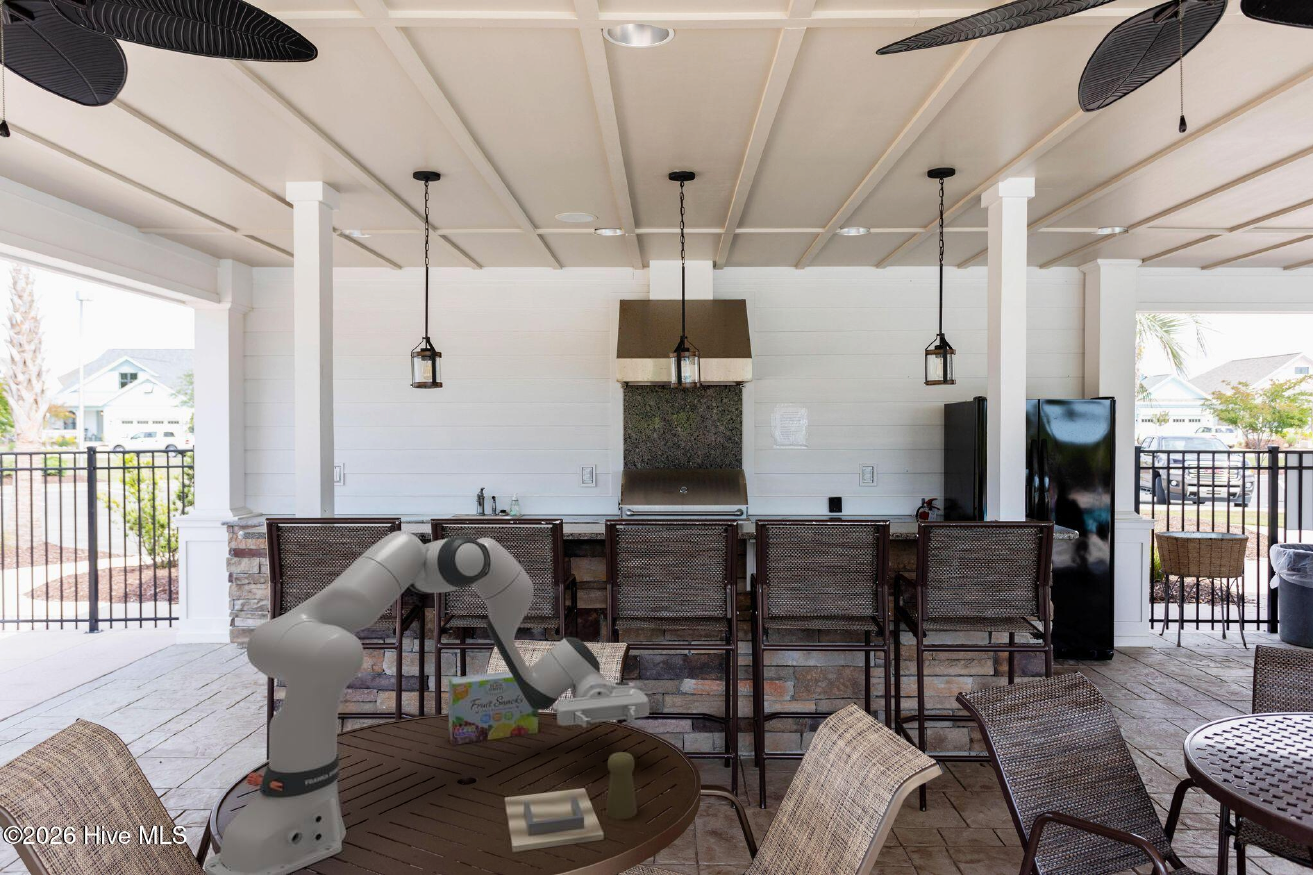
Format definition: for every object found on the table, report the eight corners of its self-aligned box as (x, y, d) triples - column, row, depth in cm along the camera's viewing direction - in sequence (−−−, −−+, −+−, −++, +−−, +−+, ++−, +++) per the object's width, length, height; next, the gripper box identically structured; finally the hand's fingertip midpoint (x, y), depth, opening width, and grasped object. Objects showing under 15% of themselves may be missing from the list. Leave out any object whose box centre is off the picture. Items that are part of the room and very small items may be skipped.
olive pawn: (638, 805, 151) (638, 748, 151) (635, 819, 145) (634, 760, 145) (608, 804, 151) (608, 748, 151) (603, 818, 145) (603, 759, 145)
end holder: (523, 813, 145) (523, 802, 145) (576, 806, 148) (576, 796, 148) (528, 835, 137) (528, 824, 137) (584, 828, 139) (584, 817, 139)
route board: (504, 802, 152) (504, 797, 152) (584, 793, 156) (584, 788, 156) (512, 851, 133) (512, 846, 133) (603, 839, 137) (603, 833, 137)
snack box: (452, 746, 183) (452, 683, 183) (448, 739, 188) (448, 677, 188) (538, 733, 192) (538, 672, 192) (532, 726, 197) (532, 666, 197)
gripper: (550, 690, 171) (559, 710, 158) (639, 682, 176) (655, 700, 163) (551, 719, 171) (559, 741, 157) (640, 709, 176) (656, 730, 163)
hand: (609, 720), depth 160 cm, fingers open, 8 cm apart
